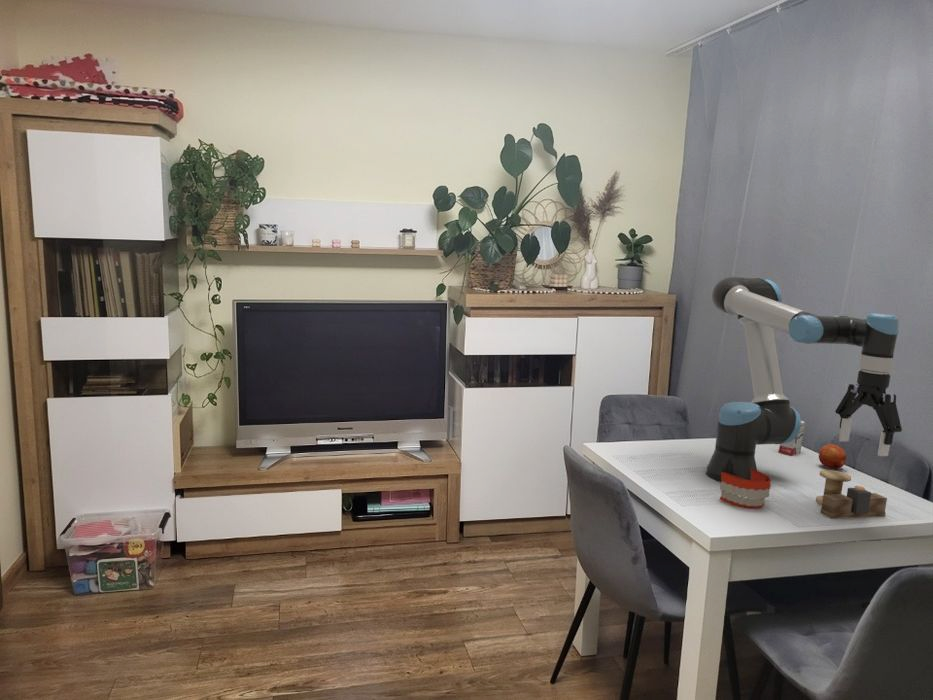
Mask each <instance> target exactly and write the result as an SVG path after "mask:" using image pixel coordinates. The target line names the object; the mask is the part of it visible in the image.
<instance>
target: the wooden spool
mask: <svg viewBox="0 0 933 700" xmlns="http://www.w3.org/2000/svg"><path fill="white" fill-rule="evenodd" d="M819 476H820V477H822V478H824V479H825V482H824V483H825V484H824V489H823V495H829V494H842V492H843V485H844V483H846V482H851V480H852V476H851V475H849V474H848V473H845V472H843V471H842V472H841V471H838V470H834V469H822V470H819ZM823 495H818V496H816V497H815V503H816V504H818V505H820V506H822V502H823Z"/></svg>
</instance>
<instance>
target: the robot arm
mask: <svg viewBox="0 0 933 700" xmlns="http://www.w3.org/2000/svg"><path fill="white" fill-rule="evenodd" d="M711 299H712V303H713V304H714V306H715V307H716V308H717V309H718V311H721V312H723V313H726V314H728V315H731V316H737V321H738V323H739V324H741V325H743V328H744V329H743V330H744V337H745V343H746V349H747V350H746V351H747V355H748V362H749V370H750V377H751V385H752V391H753V397H754V398H753V399H752V400H751V401H750V402H749V401H731V402H727V403H724V404H723V405H722V406H721V407H720V409H719V415H718V417H717V419H718V420H717V429H716V431H717V432H716V437H715V438H716V439H715V444H714V445H715V446H714V452H713V453H712V455H711V458H710V460H709V462H708V464H707V466H706V471H705V474H706V475H707V476H708V477H709V478H711V479H713V480H716V481H717V482H718V481H719V482H721V472H726V473H729V474H731V475H734V476H736V477H739V478H743V479H747V480H751V469H754V470H756V471H758V468H757V463H756V458H755V457H756V456H755V455H756V448H757V447H756V446H758V445H780V444H782V443H788V442H791V441H793V440H794V439H795V438H796V436H797V435H798V434H799V432H800V428H801V421H802V419H801V416H800V415H801V414H800V413H799V412H798V411H797V409H795V407H792V406H791V402H790V398H789V397H787V396H786V395H785V394H784V393H783V392H784V391H783V385H782V378H781V372H780V365H779V359H778V352H777V346H776V340H775V334H774V329H775V330H777V331H780V332H781V333H785V334H788V335H789V337H791V339H792V340H793V341H794V342H797V343H802V344H805V345H811V344H830V345H831V344H833V345H835V344H836V345H850V346H857V347H861V353H860V359H859V366H858V368H859V369H860V370H859V371H858V373H857V380H856V383H851V384H848V386H847V391H846V393H845V394H844V396H843V397H842V399H841V401H840V402H839V404H838V406H837V408H836V409H835V411H834V412H835V414H838V416H839V417H840V421H839V429H840V430H839V437H838V441H839V442H849V441H850V434H851V429H852V422H853V419H852V416H853V415H854V414H855V413H856V412H857V411H858V410H859V409H860V408H861V407H862V406H865V405H866V406H868V407H871V408H872V409H873V410H874V411H875V413H876V415H877V417H878V419H879V421H880V424H881V427H882V428H883V430H881V432H880V437H879V444H878V450H877V457H889V453H890V447H891V445H892V444H893V439H894V434H895V433H902V431H903V429H902V424H901V420H900V417H899V416H900V415H899V411H898V408H897V404H896V403H897V395H896V394H893V393H886V390H887V389H888V388H889V386H890V381H891V374H890V373H891V372H892V367H893V362H894V354H895V353H894V352H895V347H896V343H897V339H898V334H899V322H900V320H899V317H898V316H896V315H893V314H887V313H886V314H884V313H876V312H875V313H873V312H872V313H868V314H867V316H866V319H865V318H858V317H853V316H852V317H850V316H848V315H833V316H831V315H830V316H829V315H828V316H827V315H816V314H813V313H810V312H807V311H806V310H802V309H799V308H797V307H793V306H790V305H787V304H785V303H782V292H781V290H780V288H779V286H778V285H777V284H776V282H774V281H772V280H770V279H766V278H762V277H761V278H760V277H756V278H755V277H738V276H730V277H725V278H723V279H721V280H719V281H718V282H717V283H716V284H715V286H714V287H713V289H712V293H711Z"/></svg>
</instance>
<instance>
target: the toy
mask: <svg viewBox="0 0 933 700" xmlns="http://www.w3.org/2000/svg"><path fill="white" fill-rule="evenodd" d="M720 482H721V484H720V486H719V487H720V490H721V492H720V493H721V494H720V496H719V500H720V501H723V502H725V503H727V504H730V505H733V506H735V507H739V508H745V509H759V508H762V507H764V506H765V499H767V498H769V496H770V489H771V488H772V487H771V486H772V485H771V477H769V475H766V474H764V473H763V472H761V471H759V470H757V471H756V470H754V469H751V480H747V479H743V478H739V477H736V476H734V475H731V474H729V473H726V472H721V481H720Z"/></svg>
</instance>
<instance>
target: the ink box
mask: <svg viewBox="0 0 933 700" xmlns="http://www.w3.org/2000/svg"><path fill="white" fill-rule="evenodd" d="M805 425H806V421H803V420H801V428H800V432H799V434H798V435H797V436H796V438H795V439H794V440H793V441H791V442H788V443H782V444H779V445H778V446H779V449H778V453H780V454H784V455H788V456H794V454H795V455H797V454H800V453H801V451H802V443H803V439H804V432H805ZM799 452H800V453H799Z"/></svg>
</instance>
